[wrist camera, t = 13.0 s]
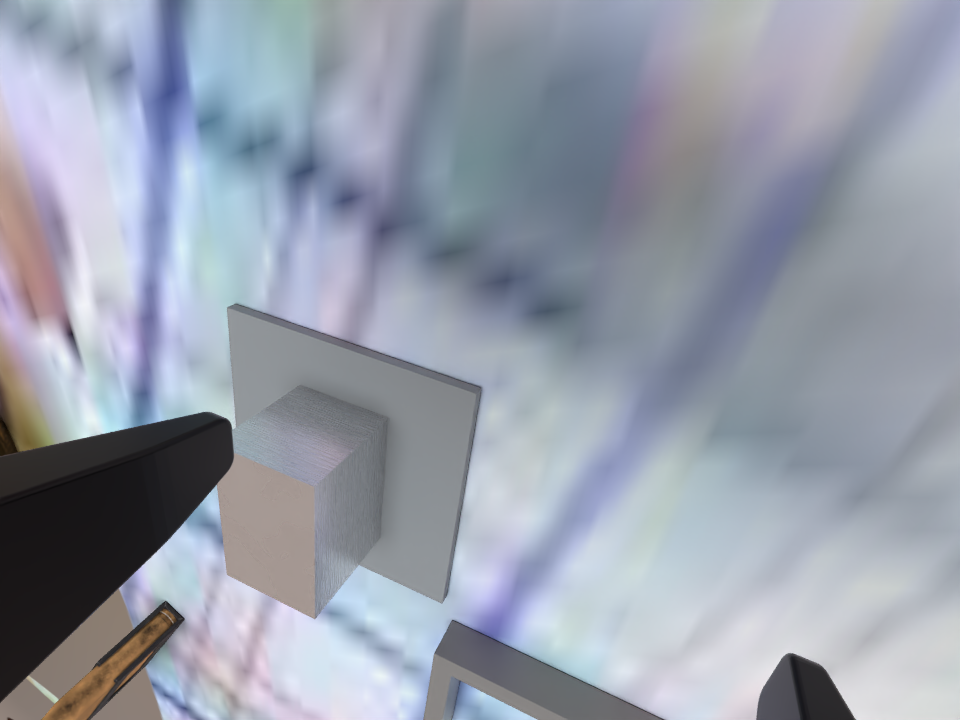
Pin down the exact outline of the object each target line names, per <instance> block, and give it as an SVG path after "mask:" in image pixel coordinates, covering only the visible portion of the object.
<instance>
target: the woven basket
mask: <svg viewBox="0 0 960 720" xmlns="http://www.w3.org/2000/svg"><path fill="white" fill-rule="evenodd" d="M13 453H17V451H16V448H15V445H14V443H13V441H12V439H11V436H10V434H9V432H8V430H7V428H6V427H5V425H4V423H3V421H2V420H1V418H0V456H4V455H9V454H13Z"/></svg>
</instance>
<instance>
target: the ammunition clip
mask: <svg viewBox="0 0 960 720" xmlns="http://www.w3.org/2000/svg"><path fill="white" fill-rule="evenodd" d="M184 620H185V619H184V618H183V617H182V616H181V615H180V614H179V613H178V612H177V611H176V610H175V609H174V608H173V607H171V606H170V605H169V604H168V603H167V602H166V601H165V602H164V603H162V604H161V605H160V606H159V607H158V608H157V609H156V610H155V611H153V612H152V613H151V614H150V615H149V616H148V617H147V618H146V619H145V620H143V621H142V622H141V623H140V624H139V625H138V626H137V627H136V628H135V629H133V630H132V631H131V632H130V633H129V634H128V635H127V636H126V637H125V638H123V639H122V640H121V641H120V642H119V643H118V644H117V645H116V646H115V647H114V648H112V649H111V650H110V651H109V652H108V653H107V654H106V655H104V656H103V657H102V658H101V659H100V660H99V661H98V662H97V663H96V664H95V666H94V667H93V669H92V671H90V672H89V673H88V674H87V675H86V676H85V677H84V678H83V679H82V680H80V681H79V682H78V683H77V684H76V685H75V686H74V687H73V688H72V689H71V690H69V691H68V692H67V693H66V694H65V695H64V696H63V697H62V698H61V699H59V700H58V701H57V702H56V703H55V704H54V706H53V707H52V708H51V709H50V710H49V712H48V713H47V714H46V715H45V716H44V717H43V718H42V719H41V720H90V719H91V718H92V717H93V716H94V715H95V714H96V713H97V712H99V711H100V710H101V709H102V708H103V707H104V706H105V705H106V704H107V703H108V702H109V701H110V700H111V699H112V698H113V697H114V696H115V695H116V694H117V693H118V692H119V691H120V690H121V689H122V688H123V687H124V686H125V685H126V684H127V683H128V682H130V681H131V679H133V678H134V677H135V676H136V675H137V674H138V673H139V672H140V671H141V669H143V668H144V667H145V666H146V665H147V664H148V663H149V661H150V660H151V659H152V658H153V657H154V655H155V654H156V653H157V652H158V651H159V649H160V648H161V647H162V646H163V645H164V643H165V642H166V641H167V640H168V639H169V637H170V636H171V635H172V634H173V633H174V631H175V630H176V629H177V628H178V627H179V625H180V624H181V623H182V622H183V621H184Z"/></svg>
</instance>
